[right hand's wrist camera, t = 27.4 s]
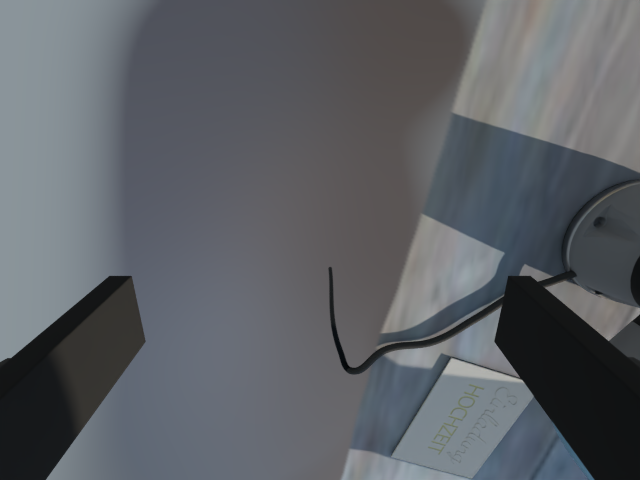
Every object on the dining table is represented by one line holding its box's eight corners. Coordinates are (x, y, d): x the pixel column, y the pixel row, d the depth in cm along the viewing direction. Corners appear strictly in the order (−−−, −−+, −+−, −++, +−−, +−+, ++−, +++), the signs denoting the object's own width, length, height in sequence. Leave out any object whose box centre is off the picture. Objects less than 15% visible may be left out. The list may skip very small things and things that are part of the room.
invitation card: (451, 358, 52) (541, 386, 53) (451, 357, 52) (540, 385, 54) (391, 457, 59) (472, 479, 61) (390, 456, 59) (471, 477, 61)
